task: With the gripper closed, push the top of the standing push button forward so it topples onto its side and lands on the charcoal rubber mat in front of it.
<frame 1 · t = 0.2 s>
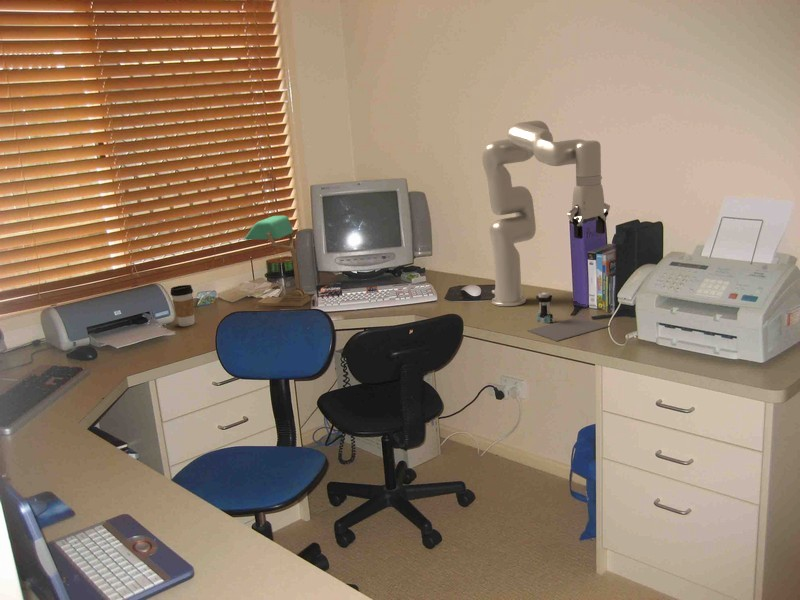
hand: (589, 235, 246), 31 cm above the table, tool pointing down, fingers open, 9 cm apart
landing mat: (568, 328, 255), on the table
banker's lamp: (283, 303, 318), on the table
coffee cup: (186, 324, 299), on the table
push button: (546, 322, 264), on the table
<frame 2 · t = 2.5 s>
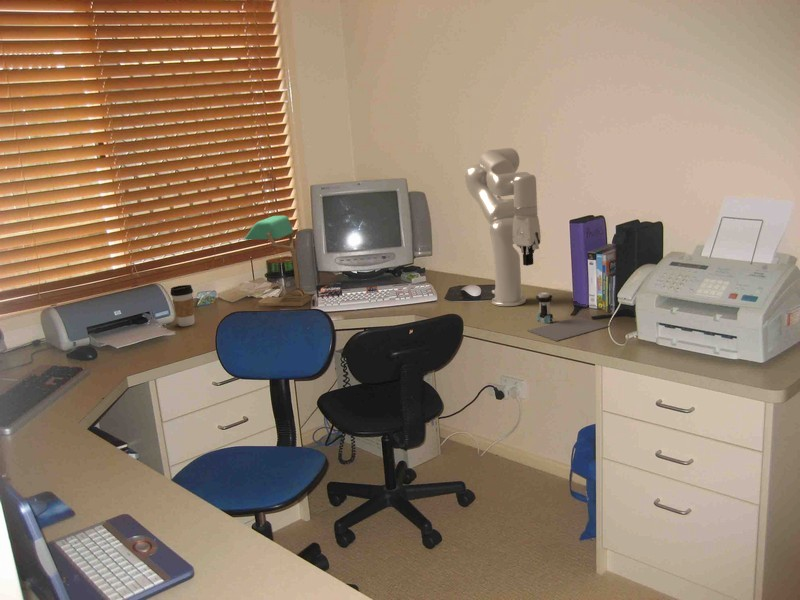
hand: (528, 264, 267), 19 cm above the table, tool pointing down, fingers closed
nothing on the table moved.
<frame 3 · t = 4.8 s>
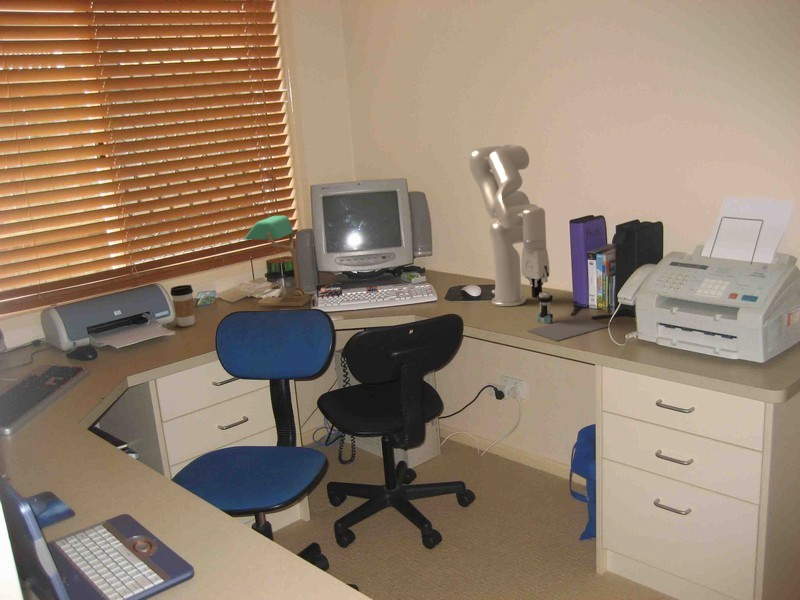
hand: (537, 296, 266), 8 cm above the table, tool pointing down, fingers closed
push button: (546, 322, 264), on the table, touching gripper
everything else where it was.
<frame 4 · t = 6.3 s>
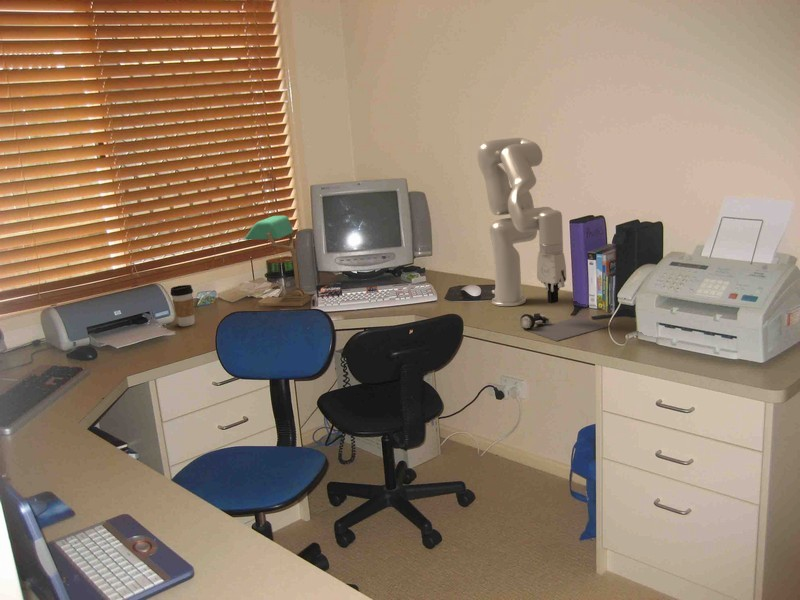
hand: (553, 302, 259), 8 cm above the table, tool pointing down, fingers closed
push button: (545, 319, 263), point 1 cm above the table
everything else where it was.
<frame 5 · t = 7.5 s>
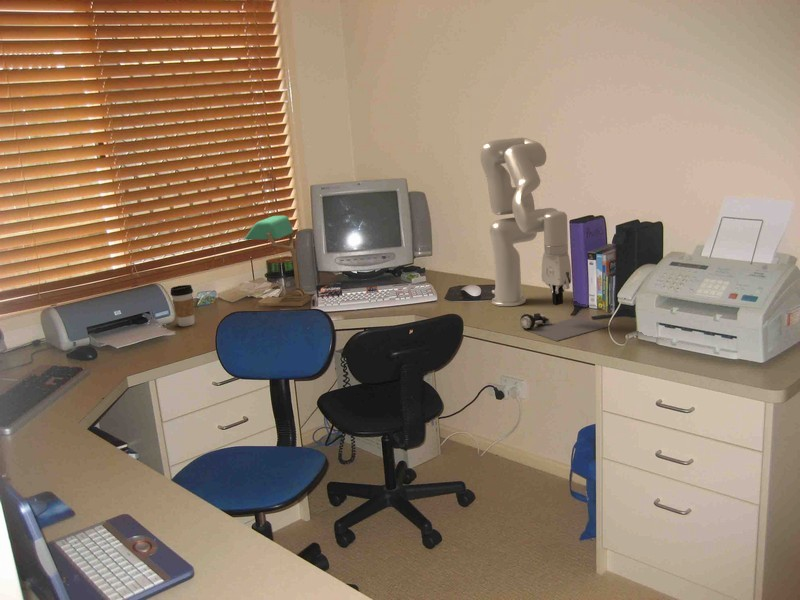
hand: (557, 303, 257), 8 cm above the table, tool pointing down, fingers closed
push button: (545, 319, 263), point 1 cm above the table, touching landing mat
everything else where it was.
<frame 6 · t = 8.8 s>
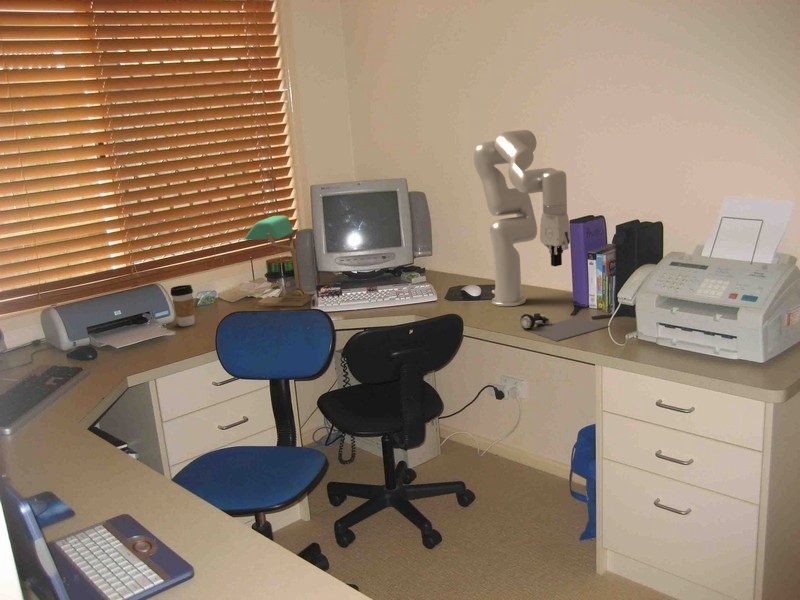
hand: (556, 265, 254), 21 cm above the table, tool pointing down, fingers closed
nothing on the table moved.
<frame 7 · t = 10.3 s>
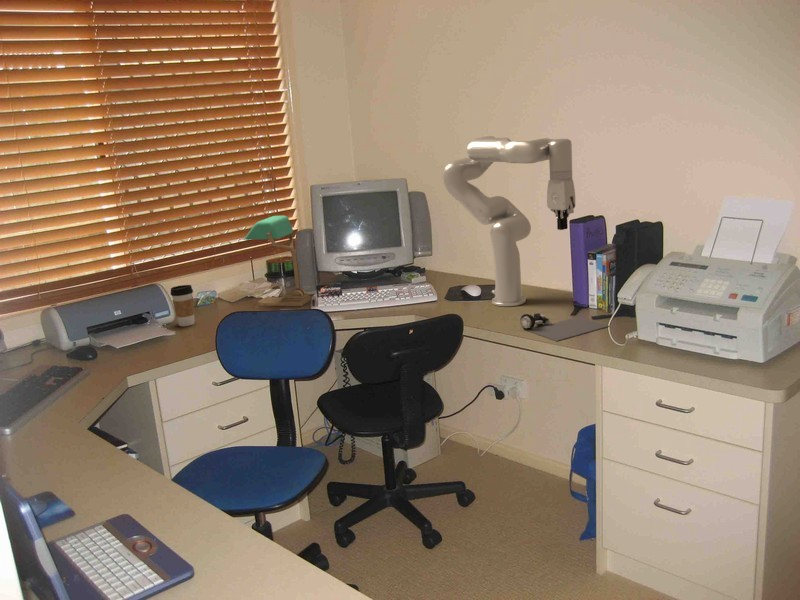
hand: (562, 229, 269), 29 cm above the table, tool pointing down, fingers closed
nothing on the table moved.
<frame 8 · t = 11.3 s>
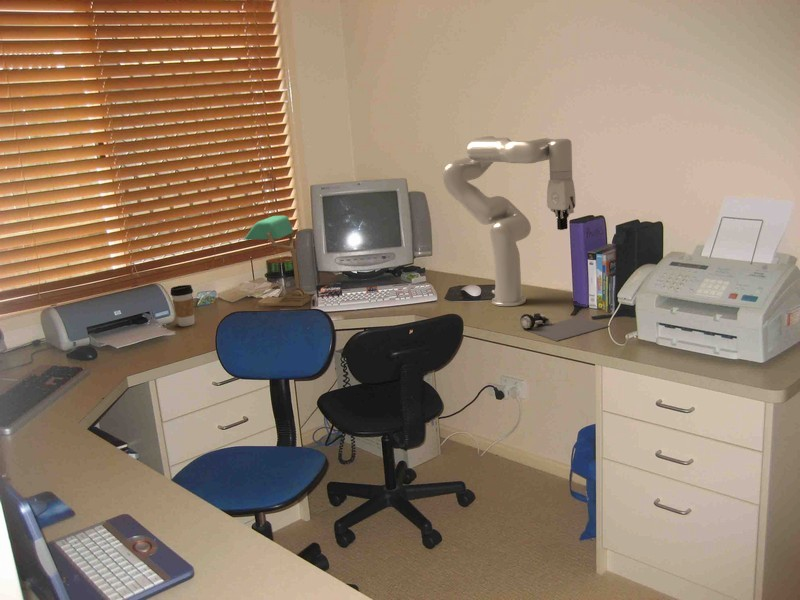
hand: (562, 229, 269), 29 cm above the table, tool pointing down, fingers closed
nothing on the table moved.
at the end: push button tilted 82°; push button inside the target area (9.2 cm from its centre), point 1.4 cm above the table; the gripper is holding nothing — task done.
